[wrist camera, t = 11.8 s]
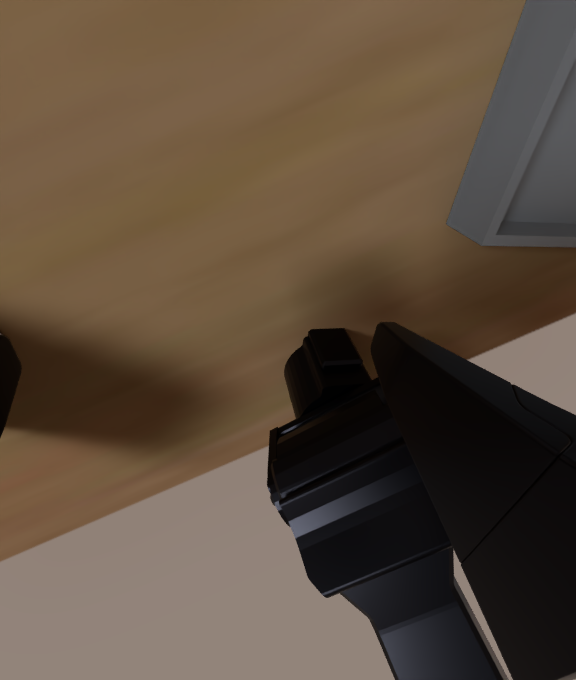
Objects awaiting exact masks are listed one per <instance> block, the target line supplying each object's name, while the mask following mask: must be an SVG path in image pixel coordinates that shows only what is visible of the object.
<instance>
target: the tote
mask: <svg viewBox="0 0 576 680" xmlns="http://www.w3.org/2000/svg"><path fill="white" fill-rule="evenodd" d="M446 224H447V225H448V226H450V227H452V228H453V229H455V230H457V231H458V232H460V233H461V234H463V235H465V236H466V237H468V238H470V239H471V240H473V241H475V242H476V243H478V244H479V245H481V246H529V247H576V0H526V3H525V6H524V9H523V12H522V14H521V17H520V20H519V23H518V25H517V28H516V31H515V34H514V37H513V39H512V42H511V45H510V48H509V51H508V53H507V56H506V59H505V62H504V64H503V67H502V70H501V73H500V76H499V78H498V81H497V84H496V87H495V89H494V92H493V95H492V98H491V101H490V103H489V106H488V109H487V112H486V114H485V117H484V120H483V123H482V126H481V128H480V131H479V134H478V137H477V139H476V142H475V145H474V148H473V151H472V153H471V156H470V159H469V162H468V164H467V167H466V170H465V173H464V176H463V178H462V181H461V184H460V187H459V189H458V192H457V195H456V198H455V201H454V203H453V206H452V209H451V212H450V214H449V217H448V220H447V223H446Z"/></svg>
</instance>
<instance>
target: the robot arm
mask: <svg viewBox="0 0 576 680" xmlns="http://www.w3.org/2000/svg"><path fill="white" fill-rule="evenodd" d="M371 355H372V359H373V362H374V365H375V368H376V371H377V374H378V377H377V378H375V379H373V380H372V379H371V378H370V376H369V374H368V372H367V370H366V369H365V367H364V365H363V360H362V359H361V357H360V355H359V353H358V351H357V350H356V348H355V346H354V344H353V342H352V341H351V339H350V337H349V335H348V333H347V332H346V330H345V329H344V328H336V329H311V330H310V331H309V332H308V336H307V337H305V338H304V339H303V345H302V346H301V347H300V348H299V349H297V350H296V351H295V352H294V353H293V354H292V355H291V356H290V358H289V359H288V361H287V363H286V365H285V369H284V376H285V380H286V384H287V387H288V391H289V395H290V399H291V402H292V406H293V410H294V413H295V417H296V419H295V420H293V421H291V422H289V423H287V424H285V425H283V426H281V427H279V428H278V427H276V428H274V429H272V430H270V438H269V457H268V478H267V479H268V480H267V486H268V489H269V492H270V493H271V496H270V498H271V501H272V503H273V505H274V506H276V508H277V510H278V512H279V513H280V515H281V517H282V518H283V520H284V521H285V522H286V524H287V525H288V526H290V527H291V529H292V531H293V534H294V536H295V539H296V541H297V544H298V547H299V550H300V554H301V557H302V560H303V563H304V566H305V569H306V573H307V576H308V578H309V580H310V581H311V582H312V583H313V585H314V586H315V587H316V588H317V589H318V590H319V591H320V593H321V594H322V595H323V596H324V597H326V598H329V597H331V596H334V595H336V594H338V593H340V594H341V595H342V596H343V597H345V598H346V599H347V600H348V601H349V602H350V603H352V604H353V605H354V606H355V607H356V608H358V609H359V610H360V611H361V612H362V613H363V614H364V615H366V616H367V617H368V618H369V620H370V622H371V624H372V626H373V628H374V630H375V633H376V635H377V637H378V640H379V642H380V645H381V647H382V649H383V652H384V654H385V656H386V659H387V661H388V664H389V666H390V669H391V671H392V673H393V676H394V678H395V680H508V678H507V676H506V674H505V672H504V670H503V668H502V666H501V665H500V663H499V661H498V659H497V657H496V655H495V653H494V651H493V649H492V647H491V645H490V643H489V642H488V640H487V638H486V636H485V634H484V632H483V630H482V628H481V626H480V624H479V623H478V621H477V619H476V617H475V615H474V613H473V611H472V609H471V607H470V606H469V604H468V602H467V600H466V598H465V596H464V594H463V592H462V590H461V588H460V586H459V585H458V583H457V581H456V579H455V577H454V567H453V566H454V565H453V548H454V551H455V553H456V555H457V557H458V559H459V562H461V566H462V569H463V571H464V573H465V575H466V577H467V580H468V582H469V584H470V586H471V589H472V591H473V593H474V595H475V597H476V599H477V602H478V604H479V606H480V608H481V610H482V613H483V615H484V617H485V619H486V621H487V624H488V626H489V628H490V630H491V632H492V635H493V637H494V639H495V641H496V643H497V646H498V648H499V650H500V652H501V654H502V657H503V659H504V661H505V663H506V665H507V668H508V670H509V672H510V674H511V676H512V678H513V680H573V679H576V415H574V414H572V413H570V412H568V411H566V410H564V409H561V408H559V407H557V406H555V405H553V404H551V403H549V402H547V401H545V400H543V399H541V398H539V397H537V396H535V395H533V394H531V393H529V392H527V391H525V390H523V389H521V388H520V387H518V386H516V385H511V383H510V382H508V381H506V380H504V379H502V378H500V377H498V376H496V375H494V374H492V373H491V372H489V371H487V370H485V369H483V368H481V367H479V366H477V365H475V364H473V363H471V362H469V361H468V360H466V359H464V358H462V357H460V356H458V355H456V354H454V353H452V352H450V351H448V350H446V349H445V348H443V347H441V346H439V345H437V344H435V343H433V342H431V341H429V340H427V339H425V338H423V337H421V336H420V335H418V334H416V333H414V332H412V331H410V330H408V329H406V328H404V327H402V326H400V325H398V324H397V323H394V322H380V323H379V324H378V325H377V327H376V330H375V334H374V337H373V340H372V344H371ZM20 375H21V363H20V360H19V358H18V356H17V354H16V352H15V350H14V348H13V346H12V344H11V341H10V340H9V338H8V337H7V336H5V335H0V437H1V435H2V433H3V430H4V427H5V424H6V421H7V418H8V415H9V411H10V408H11V405H12V401H13V398H14V395H15V391H16V388H17V385H18V381H19V378H20Z"/></svg>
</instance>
